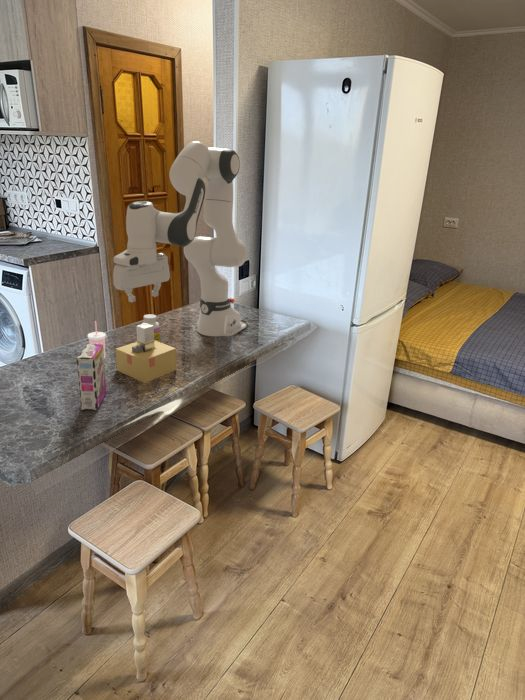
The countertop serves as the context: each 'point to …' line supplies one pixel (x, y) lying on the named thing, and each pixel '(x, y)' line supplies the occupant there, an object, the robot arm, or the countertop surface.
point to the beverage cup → (97, 338)
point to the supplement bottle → (152, 321)
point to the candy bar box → (91, 376)
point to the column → (145, 337)
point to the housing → (146, 361)
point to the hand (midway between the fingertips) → (143, 298)
